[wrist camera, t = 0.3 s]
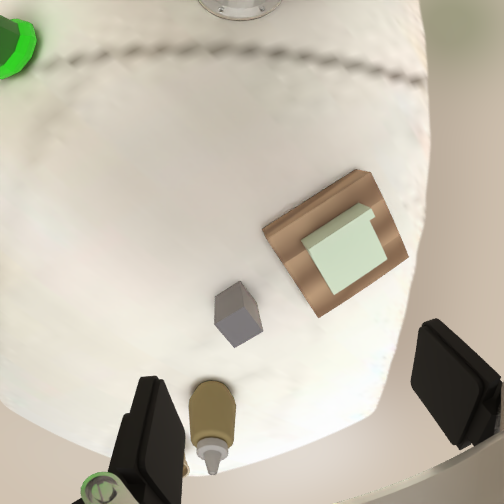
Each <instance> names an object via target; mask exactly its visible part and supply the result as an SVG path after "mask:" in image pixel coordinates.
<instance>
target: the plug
mask: <svg viewBox="0 0 504 504" xmlns="http://www.w3.org/2000/svg"><path fill="white" fill-rule="evenodd" d="M214 325H215V326H216V327H217V328H218V329H219V331H220V332H221V333H222V334H223V335H224V336H225V338H226V339H227V340H228V341H229V342H230V343H231V345H232V346H233V347H234V348H235V347H237V346H239V345H241V344H242V343H244V342H246V341H248V340H249V339H251V338H253V337H254V336H256V335H258V334H260V333H261V332H263V328H262V324H261V319H260V315H259V311H258V306H257V303H256V301H255V300H254V299H253V297H252V296H251V295H250V293H249V292H248V291H247V289H246V288H245V287H244V285H243V284H242V283H241V281H239V282H238V283H236V284H234V285H233V286H231V287H230V288H228V289H226V290H225V291H223V292H222V293H220V294H219V295H217V296H215V316H214Z"/></svg>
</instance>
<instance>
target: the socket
mask: <svg viewBox="0 0 504 504" xmlns="http://www.w3.org/2000/svg"><path fill="white" fill-rule="evenodd" d="M357 203H361V204H363V205H365V206H367V207H370V208H371V209H372V211H373V213H374V215H375V217H374V218H373V219H371V220H370V223H371V225H372V227H373V229H374V231H375V233H376V235H377V237H378V239H379V241H380V244H381V246H382V248H383V250H384V252H385V255H386V257H387V260H385V261H384V262H383V263H381V264H380V265H378V266H377V267H375V268H374V269H373V270H371V271H370V272H368V273H367V274H365V275H364V276H362V277H361V278H359V279H358V280H356V281H355V282H353V283H352V284H350V285H349V286H347V287H346V288H344V289H343V290H341V291H340V292H338V293H337V294H335V295H334V294H333V293H332V292H331V290H330V288H329V286H328V285H327V283H326V281H325V280H324V278H323V276H322V275H321V273H320V271H319V270H318V268H317V266H316V265H315V263H314V261H313V260H312V258H311V256H310V255H309V253H308V251H307V250H306V248H305V246H304V245H303V243H302V242H301V240H302V239H304V238H305V237H307V236H308V235H310V234H311V233H313V232H314V231H316V230H317V229H319V228H320V227H322V226H324V225H325V224H327V223H328V222H330V221H331V220H333V219H334V218H336V217H337V216H339V215H340V214H342V213H344V212H345V211H347V210H348V209H350V208H351V207H353V206H354V205H356V204H357ZM262 230H263V232H264V235H265V237H266V239H267V240H268V242H269V243H270V245H271V246H272V248H273V249H274V251H275V252H276V254H277V255H278V257H279V258H280V260H281V262H282V263H283V265H284V266H285V268H286V269H287V271H288V272H289V274H290V275H291V277H292V278H293V280H294V281H295V283H296V284H297V286H298V287H299V289H300V291H301V292H302V294H303V295H304V297H305V298H306V300H307V301H308V303H309V304H310V306H311V308H312V309H313V311H314V312H315V314H316V315H317V317H318V318H320V317H321V316H323V315H324V314H326V313H328V312H329V311H331V310H332V309H334V308H335V307H337V306H338V305H340V304H342V303H343V302H345V301H346V300H348V299H349V298H351V297H352V296H354V295H355V294H357V293H358V292H360V291H361V290H363V289H364V288H366V287H367V286H369V285H370V284H372V283H373V282H375V281H376V280H377V279H379V278H380V277H382V276H383V275H385V274H386V273H387V272H389V271H390V270H392V269H393V268H395V267H396V266H397V265H399V264H400V263H401V262H403V261H404V260H406V259H407V258H408V257H409V256H408V254H407V251H406V249H405V246H404V244H403V241H402V239H401V237H400V234H399V232H398V230H397V227H396V225H395V223H394V220H393V218H392V216H391V214H390V211H389V209H388V207H387V205H386V203H385V201H384V198H383V196H382V194H381V192H380V190H379V188H378V186H377V184H376V182H375V180H374V178H373V176H372V174H371V172H367V171H362V170H357V169H355V170H354V171H352V172H351V173H349V174H347V175H346V176H344V177H343V178H341V179H340V180H338V181H336V182H335V183H333V184H332V185H330V186H328V187H327V188H325V189H324V190H322V191H321V192H319V193H318V194H316V195H314V196H313V197H311V198H310V199H308V200H307V201H305V202H303V203H302V204H300V205H299V206H297V207H296V208H294V209H293V210H291V211H289V212H288V213H286V214H285V215H283V216H282V217H280V218H279V219H277V220H275V221H274V222H272V223H271V224H269V225H268V226H266V227H265V228H263V229H262Z"/></svg>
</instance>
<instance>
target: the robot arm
mask: <svg viewBox="0 0 504 504" xmlns="http://www.w3.org/2000/svg"><path fill="white" fill-rule="evenodd" d="M199 2H200V3H201V5H202V6H203V7H204V8H205V9H207V10H208V11H209V12H211V13H213V14H215V15H216V16H219V17H222V18H225V19H231V20H251V19H255V18H259V17H261V16H264V15H266V14H268V13H269V12H271V11H273V10H274V9H275V8H276V7H277V6H278V5H279V3H280V2H281V0H199ZM260 10H263V11H260ZM220 11H223V12H220ZM500 378H501V376H500V375H499V374H498V373H497V372H496V371H495V370H494V369H493V368H491V367H490V366H489V365H488V364H487V363H486V362H485V361H484V360H483V359H482V358H481V357H480V356H479V355H478V354H477V353H476V352H475V351H473V350H472V349H471V348H470V347H469V346H468V345H467V344H466V343H465V342H464V341H463V340H461V339H460V338H459V337H458V336H457V335H456V334H455V333H454V332H453V331H452V330H450V329H449V328H448V327H447V326H446V325H445V324H444V323H443V322H441V321H440V320H439V319H437V318H435V319H432V320H429V321H426V322H424V323H423V324H422V327H420V328H419V331H418V339H417V346H416V352H415V358H414V364H413V370H412V376H411V386H412V388H413V390H414V391H415V393H416V394H417V395H418V397H419V398H420V399H421V401H422V402H423V404H424V405H425V407H426V408H427V409H428V411H429V412H430V413H431V415H432V416H433V418H434V419H435V421H436V422H437V423H438V425H439V426H440V428H441V429H442V431H443V432H444V433H445V435H446V436H447V438H448V439H449V441H450V442H451V443H452V444H453V445H456V446H457V447H458V448H459V450H462V449H463V448H465V447H467V446H469V445H471V443H472V444H473V445H474V447H472V448H471V449H469V450H467V451H465V452H463V453H461V454H459V455H457V456H455V457H453V458H451V459H449V460H447V461H445V462H444V463H441V464H439V465H437V466H435V467H433V468H431V469H429V470H426V471H424V472H422V473H420V474H417V475H415V476H413V477H410V478H408V479H405V480H403V481H400V482H398V483H395V484H392V485H390V486H387V487H384V488H382V489H379V490H376V491H373V492H370V493H367V494H364V495H361V496H358V497H354V498H351V499H348V500H344V501H341V502H337V503H333V504H504V382H502V381H501V380H500ZM184 449H185V430H184V427H183V425H182V423H181V421H180V418H179V416H178V414H177V411H176V409H175V407H174V404H173V402H172V400H171V397H170V395H169V392H168V390H167V387H166V385H165V382H164V380H163V379H158V377H157V376H146V377H141V378H140V379H139V382H138V386H137V389H136V392H135V396H134V399H133V403H132V406H131V410H130V413H126V414H125V415H124V416H123V418H122V422H121V425H120V429H119V432H118V436H117V439H116V443H115V446H114V450H113V454H112V457H111V461H110V465H109V469H108V472H98V473H95V474H93V475H91V476H89V477H88V478H87V479H86V480H85V481H84V482H83V485H82V487H81V496H82V498H80V499H79V500H77V501H75V502H74V503H72V504H181V494H182V477H183V462H184Z"/></svg>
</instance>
